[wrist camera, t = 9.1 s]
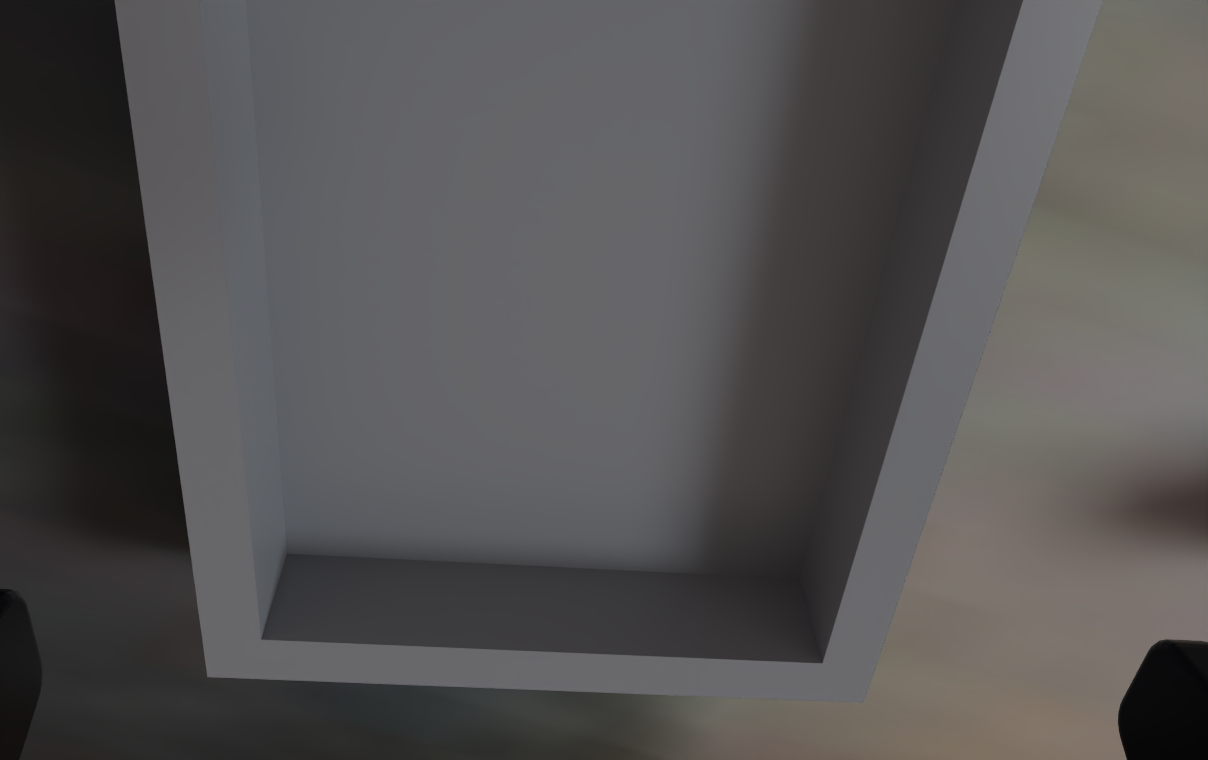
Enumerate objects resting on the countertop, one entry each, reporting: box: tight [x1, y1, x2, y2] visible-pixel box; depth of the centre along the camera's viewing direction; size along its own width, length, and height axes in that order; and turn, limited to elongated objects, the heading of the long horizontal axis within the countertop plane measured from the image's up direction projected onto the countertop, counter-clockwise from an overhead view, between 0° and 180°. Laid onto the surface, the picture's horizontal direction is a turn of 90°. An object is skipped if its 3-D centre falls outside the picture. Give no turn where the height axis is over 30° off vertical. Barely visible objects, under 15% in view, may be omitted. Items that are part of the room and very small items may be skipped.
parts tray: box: [114, 0, 1103, 703], centre depth 16 cm, size 18×12×3 cm, turn 174°
